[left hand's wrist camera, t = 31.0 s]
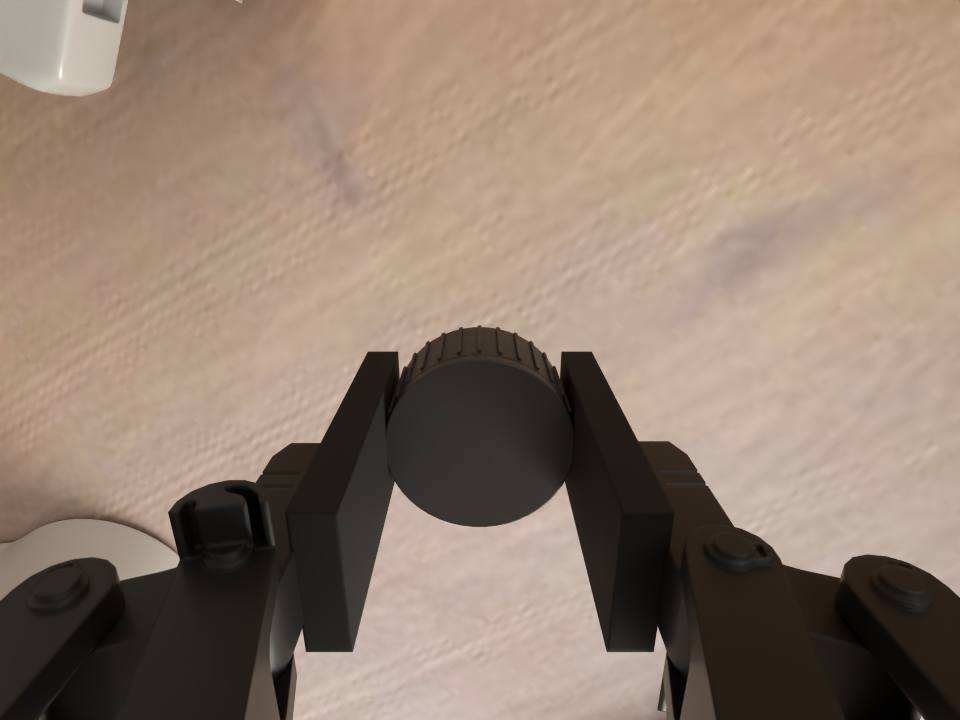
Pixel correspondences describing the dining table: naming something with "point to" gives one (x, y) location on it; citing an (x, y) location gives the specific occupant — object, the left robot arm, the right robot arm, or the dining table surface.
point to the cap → (479, 428)
